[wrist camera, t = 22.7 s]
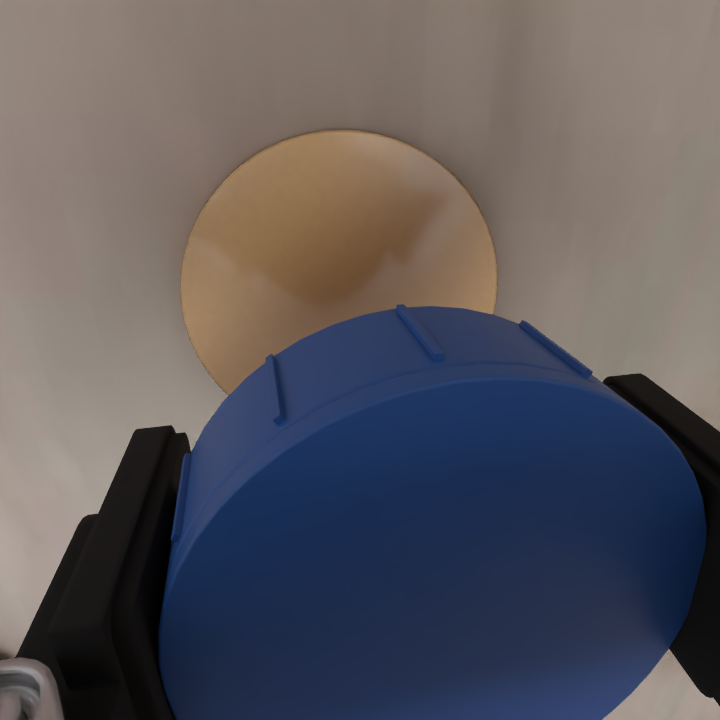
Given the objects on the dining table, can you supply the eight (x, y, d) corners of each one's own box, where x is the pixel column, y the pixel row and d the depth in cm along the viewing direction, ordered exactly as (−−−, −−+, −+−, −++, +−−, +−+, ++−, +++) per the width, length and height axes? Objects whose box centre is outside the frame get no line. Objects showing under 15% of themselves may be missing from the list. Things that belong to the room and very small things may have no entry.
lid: (392, 196, 7) (457, 233, 5) (680, 462, 10) (796, 556, 8) (79, 571, 8) (29, 721, 6) (411, 713, 11) (450, 849, 9)
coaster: (128, 348, 18) (124, 355, 18) (285, 53, 15) (285, 51, 15) (384, 470, 22) (386, 478, 21) (553, 244, 19) (560, 247, 18)
